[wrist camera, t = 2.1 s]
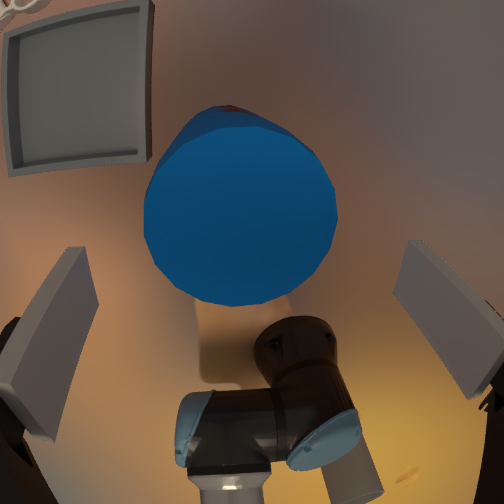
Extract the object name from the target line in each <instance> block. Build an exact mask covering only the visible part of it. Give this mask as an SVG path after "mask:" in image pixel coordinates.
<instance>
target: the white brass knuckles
mask: <svg viewBox="0 0 504 504" xmlns="http://www.w3.org/2000/svg"><path fill="white" fill-rule="evenodd" d="M51 1H52V0H33V1H32V2H30V3H29V4H27V5H26V6H25V2H26V0H11V3H10V5H9V6H8V7H6V5H5V4H4V2H3V1H2V0H0V32H1V31H3V29H4V28H5V27H6V26H7V25H8V24H9V22H10V21H11V20H12V19H13V18H14V17H15V16H16V15H17V14H19V13H21V12H24V13H28V14H32V13H36V12H39V11H41V10H42V9H44V8H45V7H46V6H47V5H48V4H49V3H50V2H51Z"/></svg>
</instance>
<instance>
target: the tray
mask: <svg viewBox="0 0 504 504" xmlns="http://www.w3.org/2000/svg"><path fill="white" fill-rule="evenodd" d="M154 12H155V5H154V4H153V2H152V1H151V0H125V1H118V2H112V3H107V4H102V5H96V6H92V7H87V8H83V9H79V10H74V11H71V12H66V13H63V14H60V15H56V16H52V17H49V18H45V19H42V20H39V21H36V22H33V23H30V24H27V25H24V26H22V27H19V28H16V29H13V30H11V31H8V32H6V33H4V38H3V51H2V76H1V84H2V85H1V87H2V88H1V89H2V90H1V91H2V118H3V133H4V143H5V152H6V161H7V168H8V175H9V177H14V176H20V175H27V174H34V173H41V172H49V171H56V170H65V169H74V168H84V167H94V166H105V165H117V164H131V163H146V162H147V161H148V160H149V159H150V158H151V157H152V130H151V74H152V45H153V44H152V43H153V25H154Z"/></svg>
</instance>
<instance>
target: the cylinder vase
mask: <svg viewBox="0 0 504 504" xmlns="http://www.w3.org/2000/svg"><path fill="white" fill-rule="evenodd" d="M321 470H322V474H323V477H324V481H325V484H326V488H327V491H328V495H329V498H330V501H331V504H365V503H368V502H370V501H372V500H374V499H376V498H378V497H380V496H381V495H382V494H383V493H384V489H383V487H382V484H381V481H380V479H379V476H378V473H377V471H376V468H375V465H374V463H373V460H372V458H371V455H370V452H369V450H368V447H367V445H366V442H365V439H364V437H363V434H362V436H361V439H360V441H359V442H358V444H357V445H356V446H355V447H354V448H353V449H352V450H351V451H350V452H348V453H347V454H346V455H344V456H342V457H341V458H339V459H337V460H336V461H334V462H332V463H329V464H327V465H325V466H322V467H321Z"/></svg>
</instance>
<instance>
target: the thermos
mask: <svg viewBox="0 0 504 504" xmlns="http://www.w3.org/2000/svg"><path fill="white" fill-rule="evenodd" d="M337 220H338V218H337V208H336V198H335V189H334V187H333V185H332V183H331V181H330V179H329V177H328V175H327V174H326V172H325V170H324V168H323V166H322V164H321V162H320V161H319V159H318V158H317V157H316V155H315V154H314V153H313V151H312V150H310V149H309V148H308V147H307V146H306V145H304V144H303V143H302V142H301V141H299V140H298V139H297V138H296V137H295V136H294V135H292V134H291V133H290V132H289V131H287V130H286V129H284V128H282V127H280V126H278V125H276V124H274V123H272V122H270V121H268V120H266V119H264V118H262V117H260V116H258V115H256V114H254V113H252V112H250V111H248V110H245V109H241V108H238V107H235V106H231V105H227V106H214V107H211V108H209V109H207V110H204V111H202V112H200V113H198V114H197V115H195V117H193V118H192V119H191V120H190V121H189V122H188V123H187V124H186V125H185V126H184V128H183V129H182V130H181V132H180V133H179V134H178V136H177V137H176V138H175V140H174V141H173V142H172V144H171V145H170V147H169V148H168V149H167V151H166V152H165V154H164V155H163V156H162V158H161V159H160V160H159V163H158V164H157V167H156V170H155V172H154V174H153V176H152V179H151V181H150V183H149V186H148V188H147V191H146V195H145V200H144V237H145V240H146V243H147V245H148V248H149V250H150V253H151V255H152V258H153V260H154V263H155V265H156V266H157V267H158V268H159V269H160V270H161V271H162V272H163V274H164V275H165V276H166V277H167V278H168V279H169V280H170V281H171V282H172V283H173V284H174V286H175V287H177V288H179V289H181V290H183V291H184V292H186V293H188V294H190V295H192V296H193V297H195V298H197V299H199V300H201V301H204V302H209V303H214V304H220V305H225V306H230V307H234V306H244V305H254V304H262V303H265V302H267V301H270V300H272V299H275V298H277V297H280V296H282V295H285V294H287V293H289V292H291V291H292V290H293V289H295V288H296V287H297V286H298V285H300V284H301V283H302V282H303V281H305V280H306V279H307V278H308V277H309V276H311V275H312V274H313V273H314V272H315V270H316V268H317V267H318V266H319V264H320V263H321V261H322V260H323V258H324V257H325V255H326V254H327V252H328V251H329V249H330V247H331V243H332V239H333V236H334V232H335V228H336V224H337Z"/></svg>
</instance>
